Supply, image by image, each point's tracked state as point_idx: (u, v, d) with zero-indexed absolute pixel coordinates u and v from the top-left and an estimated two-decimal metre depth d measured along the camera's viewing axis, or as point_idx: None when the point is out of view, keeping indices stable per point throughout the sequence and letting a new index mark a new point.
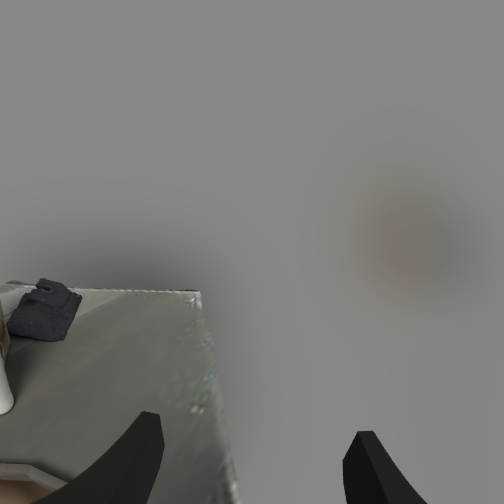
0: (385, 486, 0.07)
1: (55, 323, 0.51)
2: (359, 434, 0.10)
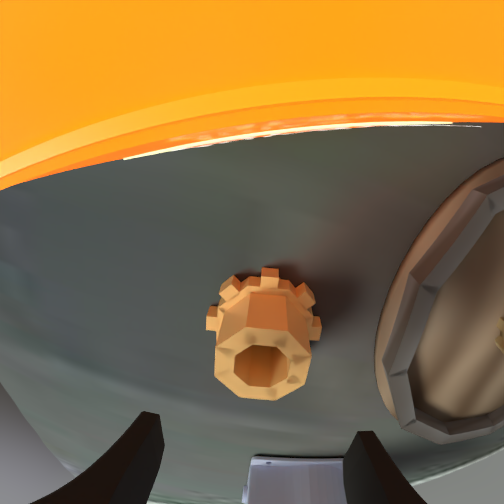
0: (385, 486, 0.07)
1: None
2: (359, 434, 0.10)
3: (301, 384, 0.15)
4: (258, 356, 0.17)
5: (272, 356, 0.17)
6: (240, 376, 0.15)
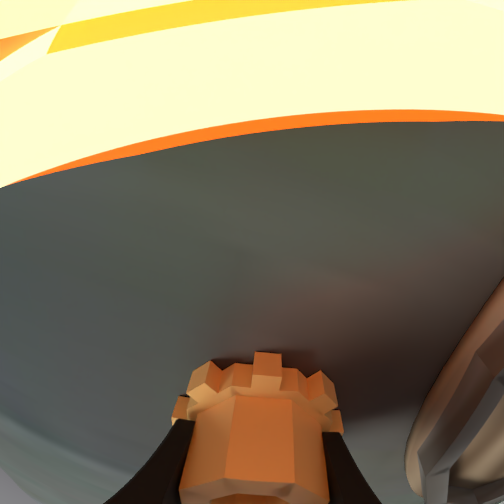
0: (343, 490, 0.07)
1: None
2: (323, 434, 0.10)
3: None
4: None
5: None
6: None
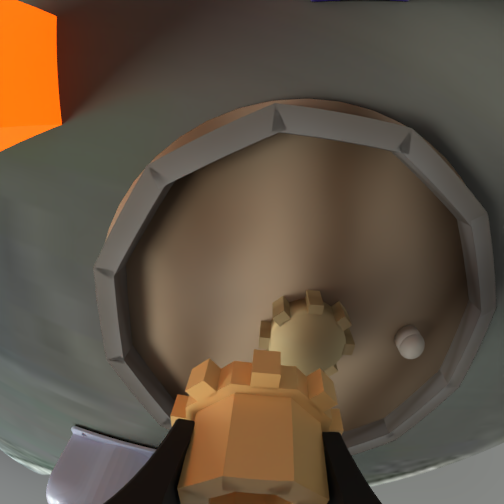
0: (343, 490, 0.07)
1: None
2: (323, 434, 0.10)
3: None
4: None
5: None
6: None
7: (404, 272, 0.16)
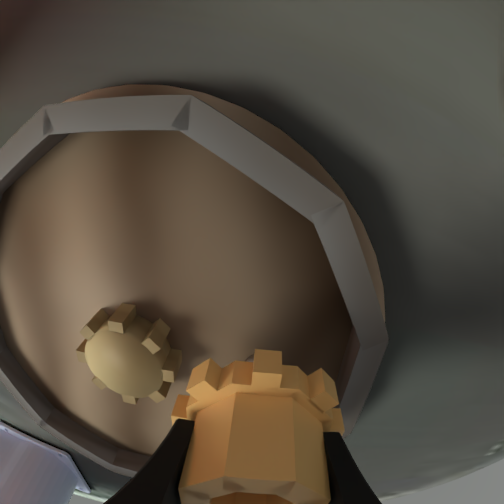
0: (343, 490, 0.07)
1: None
2: (323, 434, 0.10)
3: None
4: None
5: None
6: None
7: (236, 287, 0.13)
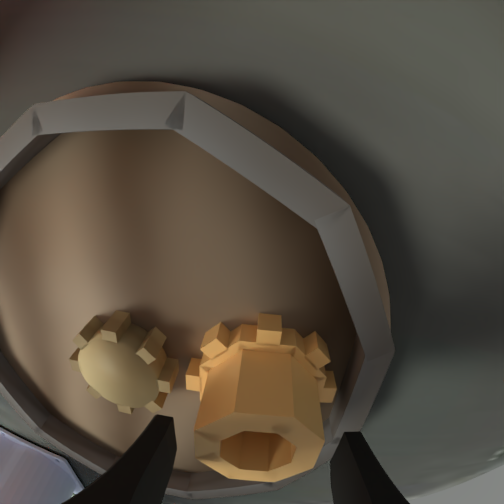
0: (369, 488, 0.07)
1: None
2: (345, 434, 0.10)
3: (309, 468, 0.10)
4: None
5: None
6: (229, 459, 0.10)
7: (235, 295, 0.13)
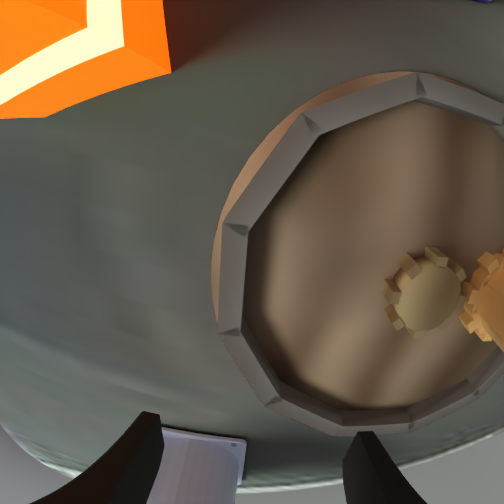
0: (385, 486, 0.07)
1: None
2: (359, 434, 0.10)
3: None
4: None
5: None
6: None
7: (497, 231, 0.15)
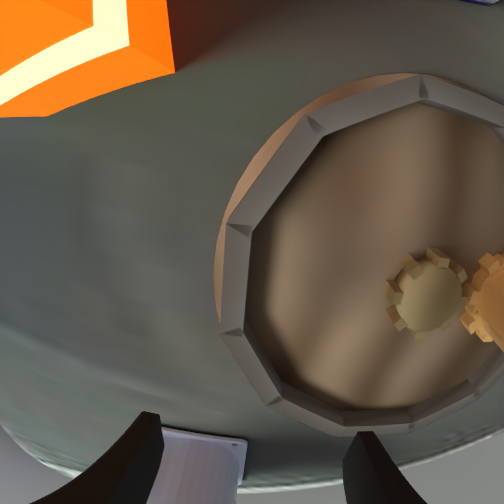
0: (385, 486, 0.07)
1: None
2: (359, 433, 0.10)
3: None
4: None
5: None
6: None
7: (498, 233, 0.16)
